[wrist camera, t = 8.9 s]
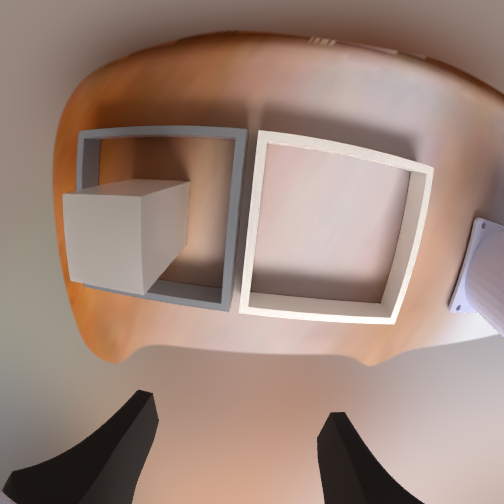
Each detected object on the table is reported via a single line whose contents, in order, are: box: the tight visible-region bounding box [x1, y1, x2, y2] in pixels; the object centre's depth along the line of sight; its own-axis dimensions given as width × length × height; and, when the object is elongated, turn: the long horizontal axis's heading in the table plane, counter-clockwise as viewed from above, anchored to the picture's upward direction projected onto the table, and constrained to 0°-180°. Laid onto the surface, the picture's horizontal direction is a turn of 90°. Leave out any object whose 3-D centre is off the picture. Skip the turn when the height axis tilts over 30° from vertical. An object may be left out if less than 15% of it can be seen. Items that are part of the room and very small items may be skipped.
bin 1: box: [76, 126, 249, 312], centre depth 15 cm, size 10×10×2 cm
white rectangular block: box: [63, 179, 190, 295], centre depth 13 cm, size 4×4×7 cm
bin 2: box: [239, 130, 434, 324], centre depth 15 cm, size 10×10×2 cm
